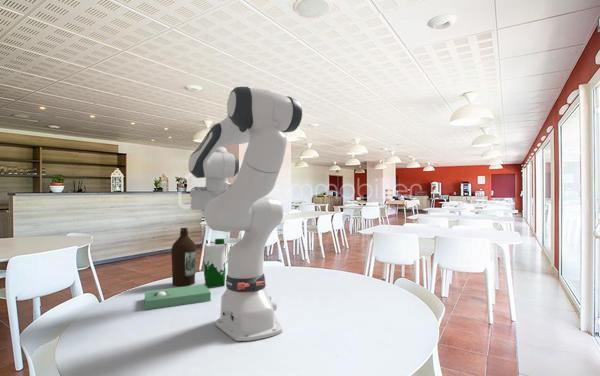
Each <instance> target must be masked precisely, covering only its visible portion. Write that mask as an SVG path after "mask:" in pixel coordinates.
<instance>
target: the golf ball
mask: <svg viewBox="0 0 600 376" xmlns="http://www.w3.org/2000/svg"><path fill="white" fill-rule="evenodd" d="M164 295H167V294H166V293H165V292H163V291H161V292H159V293H158V294H157V296H164Z"/></svg>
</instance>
